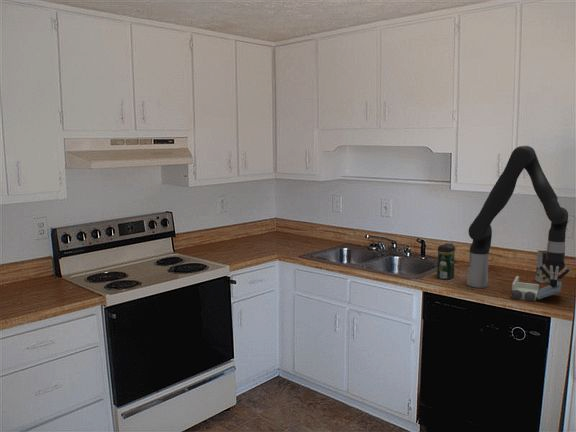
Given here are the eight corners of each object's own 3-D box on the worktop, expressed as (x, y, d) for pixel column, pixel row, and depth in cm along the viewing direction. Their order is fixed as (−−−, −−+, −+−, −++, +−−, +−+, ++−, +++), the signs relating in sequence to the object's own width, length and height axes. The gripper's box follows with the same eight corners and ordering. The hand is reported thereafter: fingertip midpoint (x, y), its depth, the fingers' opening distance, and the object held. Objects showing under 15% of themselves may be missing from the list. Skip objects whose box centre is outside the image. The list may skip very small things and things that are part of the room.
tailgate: (535, 297, 239) (558, 289, 234) (539, 289, 252) (560, 281, 247) (537, 300, 239) (560, 291, 234) (540, 291, 252) (562, 283, 247)
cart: (511, 298, 243) (511, 284, 242) (515, 289, 258) (516, 275, 257) (534, 302, 238) (535, 287, 237) (538, 292, 253) (539, 278, 252)
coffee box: (541, 283, 268) (543, 253, 266) (534, 280, 275) (537, 250, 272) (558, 283, 268) (560, 253, 266) (552, 279, 275) (554, 250, 272)
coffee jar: (442, 274, 286) (443, 241, 284) (455, 277, 281) (457, 243, 279) (434, 278, 279) (435, 244, 276) (448, 280, 274) (449, 246, 271)
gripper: (539, 250, 239) (536, 287, 242) (571, 253, 233) (568, 291, 235) (540, 247, 246) (538, 283, 248) (572, 250, 239) (569, 286, 242)
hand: (553, 286), depth 242 cm, fingers closed
